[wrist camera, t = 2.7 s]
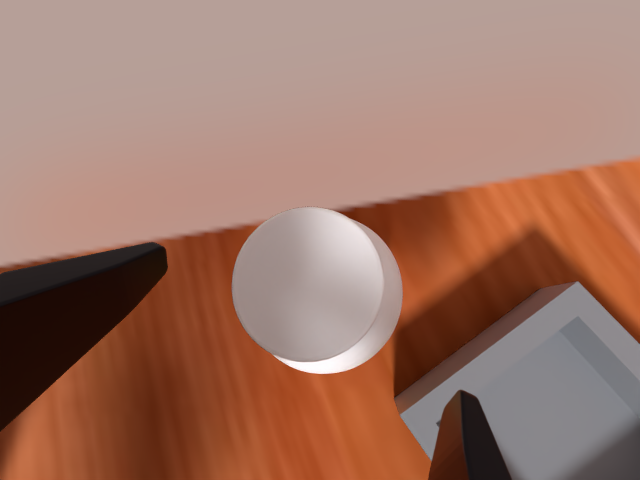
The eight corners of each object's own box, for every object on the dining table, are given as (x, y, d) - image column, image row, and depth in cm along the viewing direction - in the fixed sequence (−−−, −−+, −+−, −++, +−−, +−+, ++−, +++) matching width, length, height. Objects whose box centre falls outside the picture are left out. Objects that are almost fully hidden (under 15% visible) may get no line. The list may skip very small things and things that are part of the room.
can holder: (534, 598, 13) (579, 674, 11) (393, 398, 16) (399, 415, 13) (705, 464, 14) (795, 502, 11) (540, 288, 16) (577, 281, 13)
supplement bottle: (295, 249, 19) (222, 176, 9) (391, 254, 18) (419, 180, 8) (285, 348, 17) (188, 381, 8) (388, 358, 17) (417, 409, 7)
